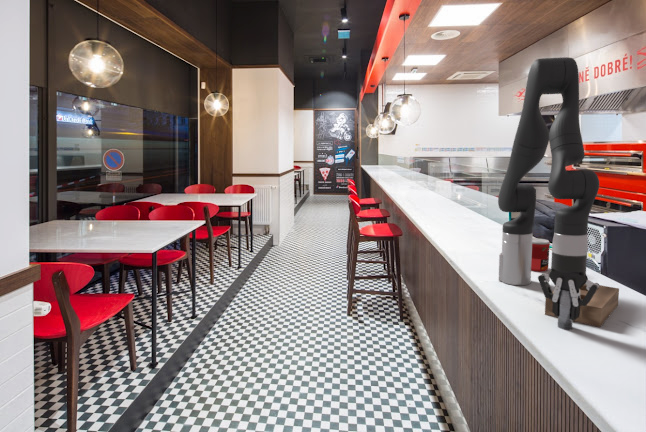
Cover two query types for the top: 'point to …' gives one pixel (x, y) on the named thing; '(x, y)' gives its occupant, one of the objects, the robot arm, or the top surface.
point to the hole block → (593, 305)
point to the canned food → (540, 255)
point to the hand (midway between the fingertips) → (565, 317)
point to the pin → (565, 310)
